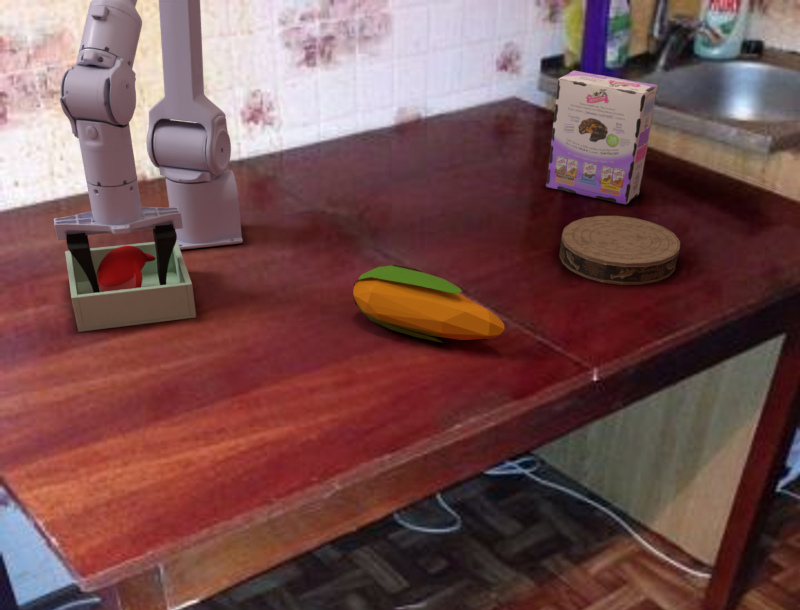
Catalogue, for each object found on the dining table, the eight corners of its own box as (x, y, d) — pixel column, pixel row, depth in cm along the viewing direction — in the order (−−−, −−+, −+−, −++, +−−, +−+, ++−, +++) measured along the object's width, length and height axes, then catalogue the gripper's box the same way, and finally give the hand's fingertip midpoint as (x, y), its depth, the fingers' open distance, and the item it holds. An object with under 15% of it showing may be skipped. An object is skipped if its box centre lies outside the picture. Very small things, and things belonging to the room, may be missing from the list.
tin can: (584, 289, 128) (587, 267, 126) (543, 240, 140) (545, 219, 138) (696, 279, 131) (701, 258, 129) (646, 232, 143) (650, 212, 141)
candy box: (640, 195, 154) (660, 83, 144) (625, 206, 150) (645, 93, 140) (560, 176, 160) (574, 67, 149) (544, 187, 156) (557, 76, 145)
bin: (180, 271, 130) (176, 239, 127) (196, 317, 120) (192, 283, 117) (71, 283, 126) (64, 250, 123) (78, 332, 117) (71, 297, 114)
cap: (128, 309, 118) (131, 259, 115) (85, 296, 119) (87, 246, 116) (164, 296, 125) (167, 249, 122) (123, 283, 126) (125, 236, 123)
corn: (371, 243, 119) (522, 281, 112) (373, 299, 124) (517, 339, 117) (338, 269, 114) (494, 311, 107) (342, 327, 120) (490, 370, 112)
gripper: (47, 196, 109) (70, 309, 117) (180, 184, 112) (193, 295, 121) (45, 174, 114) (67, 284, 122) (171, 164, 117) (184, 271, 126)
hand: (129, 288), depth 122 cm, fingers closed on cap, 7 cm apart
